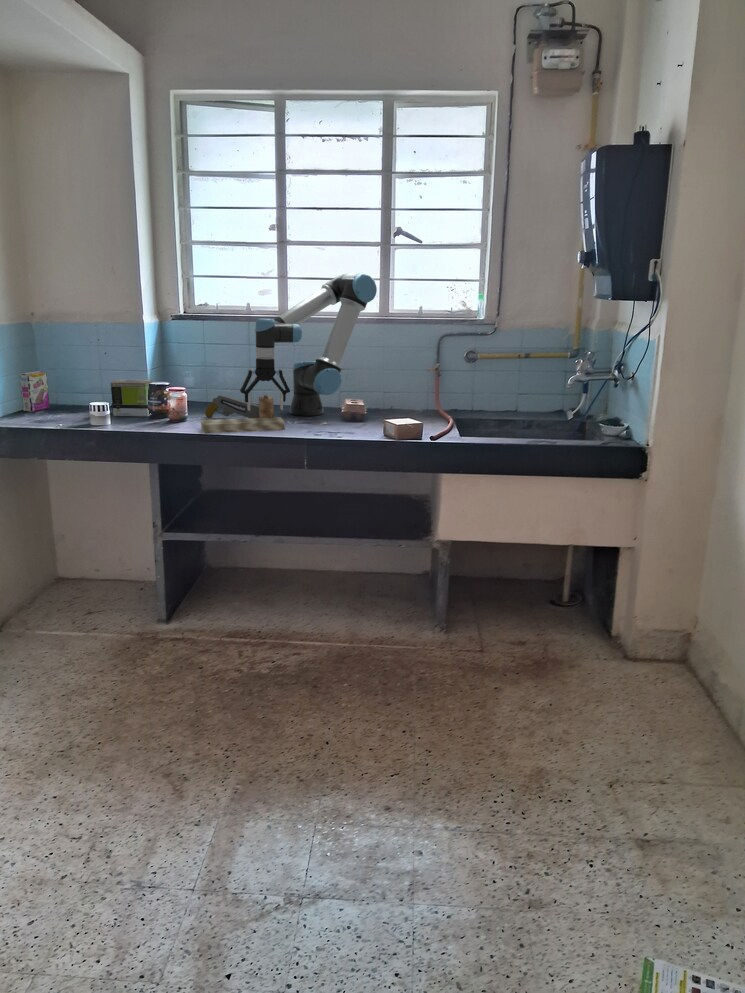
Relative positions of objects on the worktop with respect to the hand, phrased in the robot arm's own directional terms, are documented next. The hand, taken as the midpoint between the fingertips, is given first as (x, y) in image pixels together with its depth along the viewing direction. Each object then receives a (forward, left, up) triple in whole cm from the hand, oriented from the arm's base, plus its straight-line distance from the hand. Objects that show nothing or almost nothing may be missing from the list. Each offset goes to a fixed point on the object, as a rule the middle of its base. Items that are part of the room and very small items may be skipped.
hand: (265, 409), depth 302 cm
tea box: (+52, -32, -6) cm, 61 cm away
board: (+11, +8, -6) cm, 15 cm away
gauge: (0, +3, -6) cm, 7 cm away
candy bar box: (+92, -50, -6) cm, 105 cm away
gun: (+10, -14, -6) cm, 18 cm away
